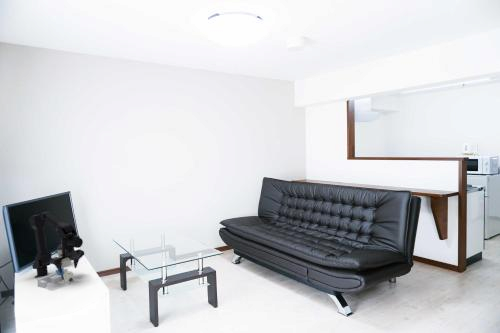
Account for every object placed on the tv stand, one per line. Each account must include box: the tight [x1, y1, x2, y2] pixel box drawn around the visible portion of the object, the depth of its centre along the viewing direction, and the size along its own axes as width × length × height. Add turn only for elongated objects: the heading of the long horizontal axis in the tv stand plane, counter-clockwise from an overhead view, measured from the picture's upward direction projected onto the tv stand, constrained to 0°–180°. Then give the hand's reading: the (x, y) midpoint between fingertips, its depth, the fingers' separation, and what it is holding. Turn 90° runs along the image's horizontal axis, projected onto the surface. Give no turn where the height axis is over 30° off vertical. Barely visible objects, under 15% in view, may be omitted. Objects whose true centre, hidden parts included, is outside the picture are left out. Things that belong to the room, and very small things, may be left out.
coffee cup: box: [56, 243, 72, 268], centre depth 231 cm, size 9×9×15 cm
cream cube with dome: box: [62, 271, 75, 282], centre depth 205 cm, size 9×4×4 cm, turn 61°
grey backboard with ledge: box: [36, 267, 81, 292], centre depth 202 cm, size 14×18×6 cm
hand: (68, 270), depth 204 cm, fingers open, 9 cm apart
